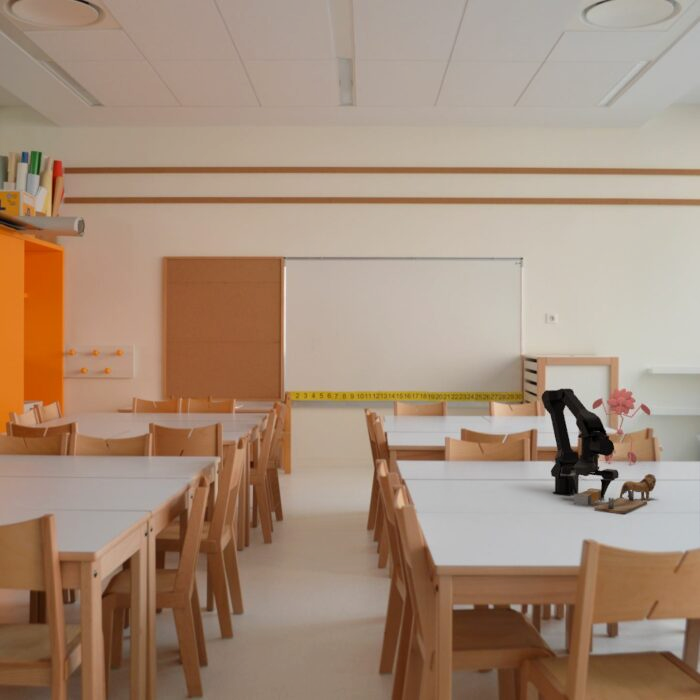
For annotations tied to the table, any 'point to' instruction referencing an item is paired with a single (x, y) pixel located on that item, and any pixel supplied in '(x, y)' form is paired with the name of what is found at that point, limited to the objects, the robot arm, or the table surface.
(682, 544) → the table surface
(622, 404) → the figurine
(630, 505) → the board
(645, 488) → the lion figurine
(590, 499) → the hammer
